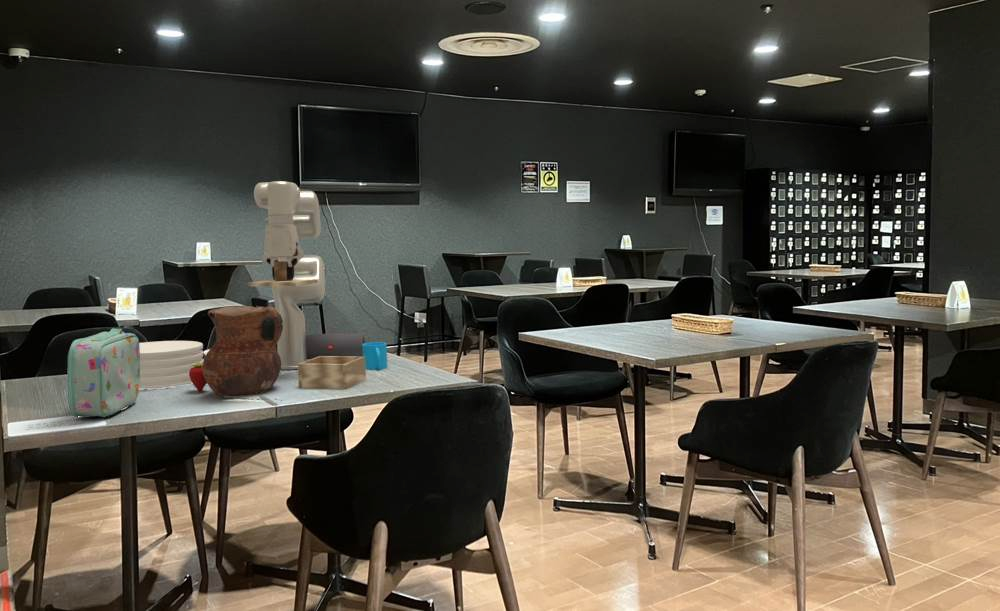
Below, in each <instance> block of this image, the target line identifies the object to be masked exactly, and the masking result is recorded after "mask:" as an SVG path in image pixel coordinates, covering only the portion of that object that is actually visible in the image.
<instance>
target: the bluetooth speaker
mask: <svg viewBox="0 0 1000 611" xmlns="http://www.w3.org/2000/svg"><path fill="white" fill-rule="evenodd" d="M305 335H306V359H307V360H310V359H313V358H315V357H318V356H349V357H363V347H362V344H365V343H366V341H365V334H364V333H333V332H332V333H315V334H305Z"/></svg>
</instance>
